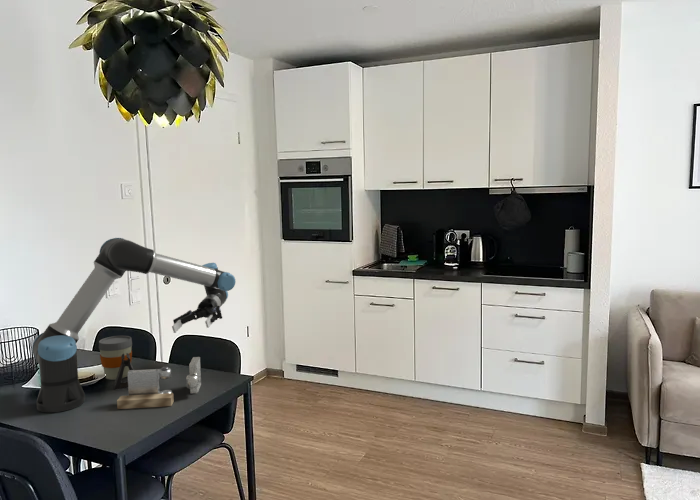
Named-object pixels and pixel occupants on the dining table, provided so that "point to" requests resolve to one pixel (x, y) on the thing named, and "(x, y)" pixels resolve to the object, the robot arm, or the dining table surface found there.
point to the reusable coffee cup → (114, 354)
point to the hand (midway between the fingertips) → (190, 327)
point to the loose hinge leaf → (194, 375)
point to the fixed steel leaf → (147, 381)
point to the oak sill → (145, 401)
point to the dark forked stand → (120, 373)
